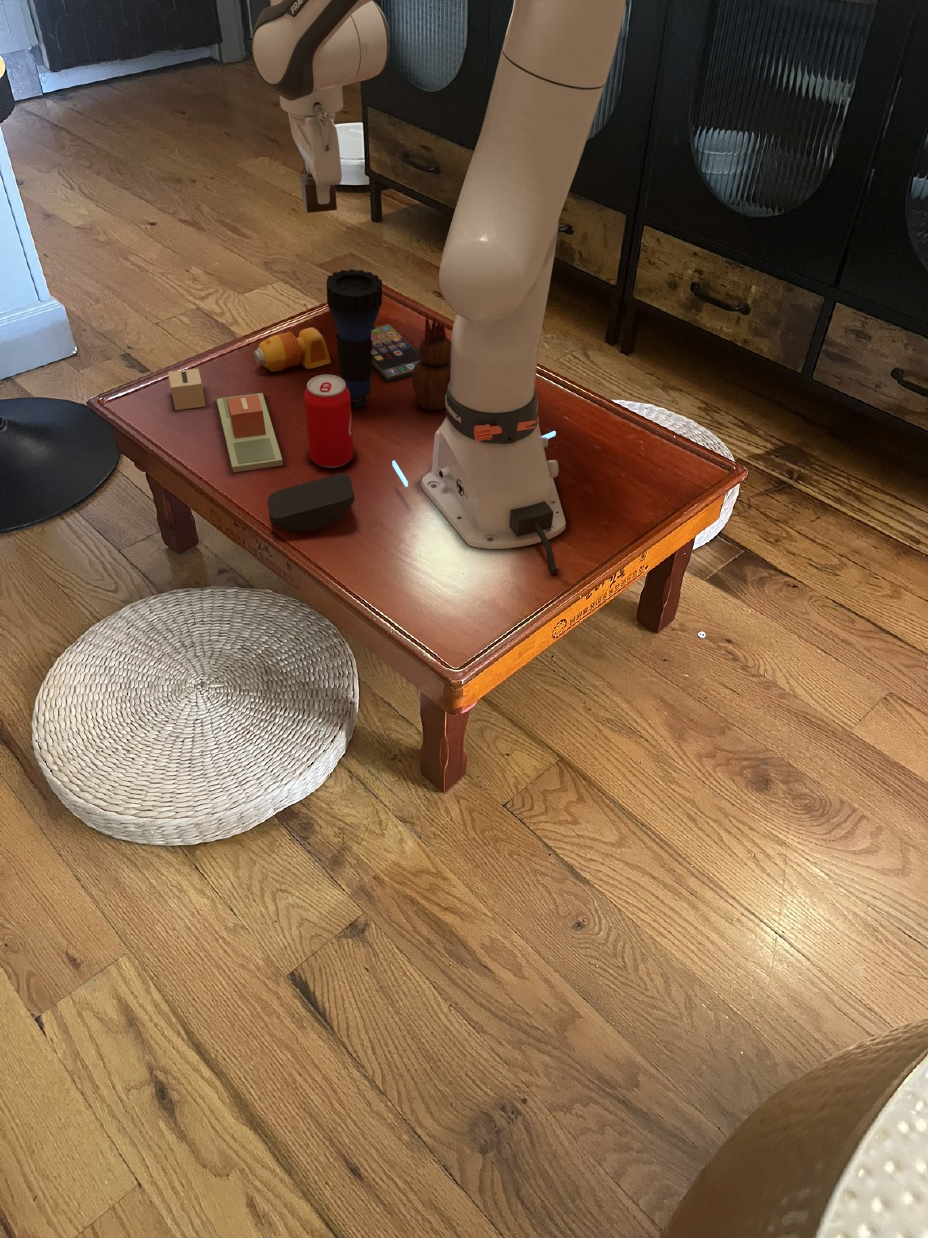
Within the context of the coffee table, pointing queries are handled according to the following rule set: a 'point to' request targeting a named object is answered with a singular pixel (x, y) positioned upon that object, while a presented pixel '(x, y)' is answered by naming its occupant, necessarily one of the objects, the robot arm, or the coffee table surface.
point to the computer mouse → (311, 504)
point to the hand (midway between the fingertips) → (319, 194)
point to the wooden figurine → (432, 368)
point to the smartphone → (392, 353)
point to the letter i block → (186, 389)
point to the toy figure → (293, 350)
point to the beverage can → (329, 421)
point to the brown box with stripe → (310, 195)
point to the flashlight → (354, 326)
